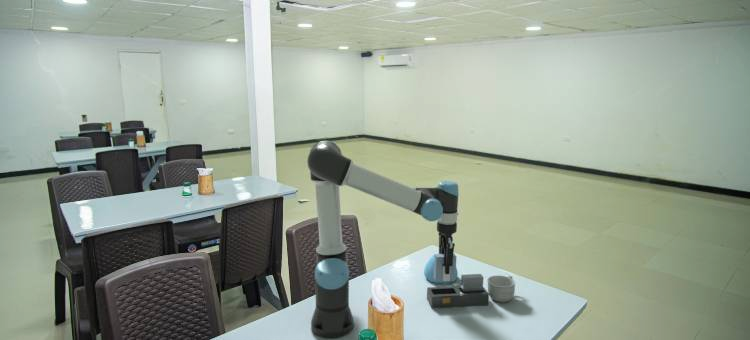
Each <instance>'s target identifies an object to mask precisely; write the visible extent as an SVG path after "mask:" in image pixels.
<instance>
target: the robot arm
mask: <svg viewBox="0 0 750 340" xmlns="http://www.w3.org/2000/svg"><path fill="white" fill-rule="evenodd" d="M310 148H311V149H310V150H309V154H308V156H307V167H308V169H309V173H310V181H311V182H312V183H314V185H315V196H316V197H315V199H316V213H317V224H318V226H317V227H318V239H319V242H318V243H319V245H317V247H316V249H315V253H316V255H315V256H316V267H315V270H314V279H315V281H314V282H315V283H314V284H315V286H314V287H315V308H314V310H313V315H312V317H311V321H310V329H311V332H312V333H313V334H315V335H316V336H318V337H320V338H324V339H336V338H338V339H339V338H341V337H345V336H346V334H347V335H349V332H350V331H351V330H352V331H353V329H354V325H355V323H354V321H355V320H354V316H353V314H352V311H351V307H350V303H349V302H350V298H349V297H350V291H349V289H350V288H349V287H350V282H349V281H350V279H349V278H350V269H349V259H348V249H347V245H346V244H345V243H343V230H342V216H341V199H340V187H343V186H347V187H350V188H353V189H355V190H357V191H360V192H363V193H365V194H367V195H370V196H372V197H375V198H378V199H380V200H382V201H385V202H387V203H390V204H392V205H395V206H397V207H400V208H402V209H405V210H407V211H410V212H412V213H414V214H416V215H420V216H421V217H422V218H423V219H424V220H426V221H428V222H436V221H437V222H436V231H437V232H438V254H444V264H442V266H443V279H442V281H450V266H453V253H454V251H455V250H454V249H455V246H456V245H455V243H454V242H453V241H454V240H453V235H454V234H455V233H457V229H458V228H457V226H458V223H457V222H458V216H459V213H458V205H459V185H458V184H457V182H456V181H450V180H443V181H440V182H438V184H437V187H409V186H408V185H405V184H403V183H401V182H398V181H395V180H393V179H391V178H388V177H386V176H383V175H381V174H378V173H376V172H374V171H372V170H369V169H367V168H365V167H362V166H359V165H357V164H355V163H354V161H353V159H351V158H349V157H346V156H344V155H343V154H342V151H341V149H340V147H339V146H338V145H337V144H336V143H334V142H333V141H329V140H322V141H319V142H317V143H315V144H313V146H312V147H310ZM454 254H455V253H454ZM352 331H351V332H352ZM351 332H350V333H351ZM344 335H345V336H344Z"/></svg>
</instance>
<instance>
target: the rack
mask: <svg viewBox="0 0 750 340" xmlns="http://www.w3.org/2000/svg"><path fill="white" fill-rule="evenodd" d="M460 280H461V281H460V285H456V286H454V285H452V286H434V287H431V286H429V287H427V288H426V291H427V292H426V300H427V302H428V305H429V306H430V308H431V309H446V308H447V309H448V308H467V307H483V306H489V299H490V295H489V293H488V290H487V289H486V288H485V287H484V276H483V275H482V274H481V273H471V274H469V273H468V274H461V279H460Z"/></svg>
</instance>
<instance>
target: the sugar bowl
mask: <svg viewBox="0 0 750 340" xmlns="http://www.w3.org/2000/svg"><path fill="white" fill-rule="evenodd" d="M423 274H424V276H425V278H426V279H427V280H428V281H429V282H431V283H434V284H438V285H448V284H449V285H450V284H451V283H454V281H435V280H434V278H433V274H434V254H433V255H432V256H431V257H429V259H428V260H427V262H426V265H425V266H424V271H423ZM458 275H459V274H458V268H457V267H456V275H455V280H457V278H458Z"/></svg>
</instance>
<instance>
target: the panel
mask: <svg viewBox="0 0 750 340" xmlns="http://www.w3.org/2000/svg"><path fill="white" fill-rule="evenodd" d="M433 255H434V274H433V278H434V280H435V281H442V279H443V266H442V264H444V254H439V253H434V254H433ZM456 268H457V255H456V254H455V253H453V266H450V281H453V282H454V281H456V279H455V275H456Z"/></svg>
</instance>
